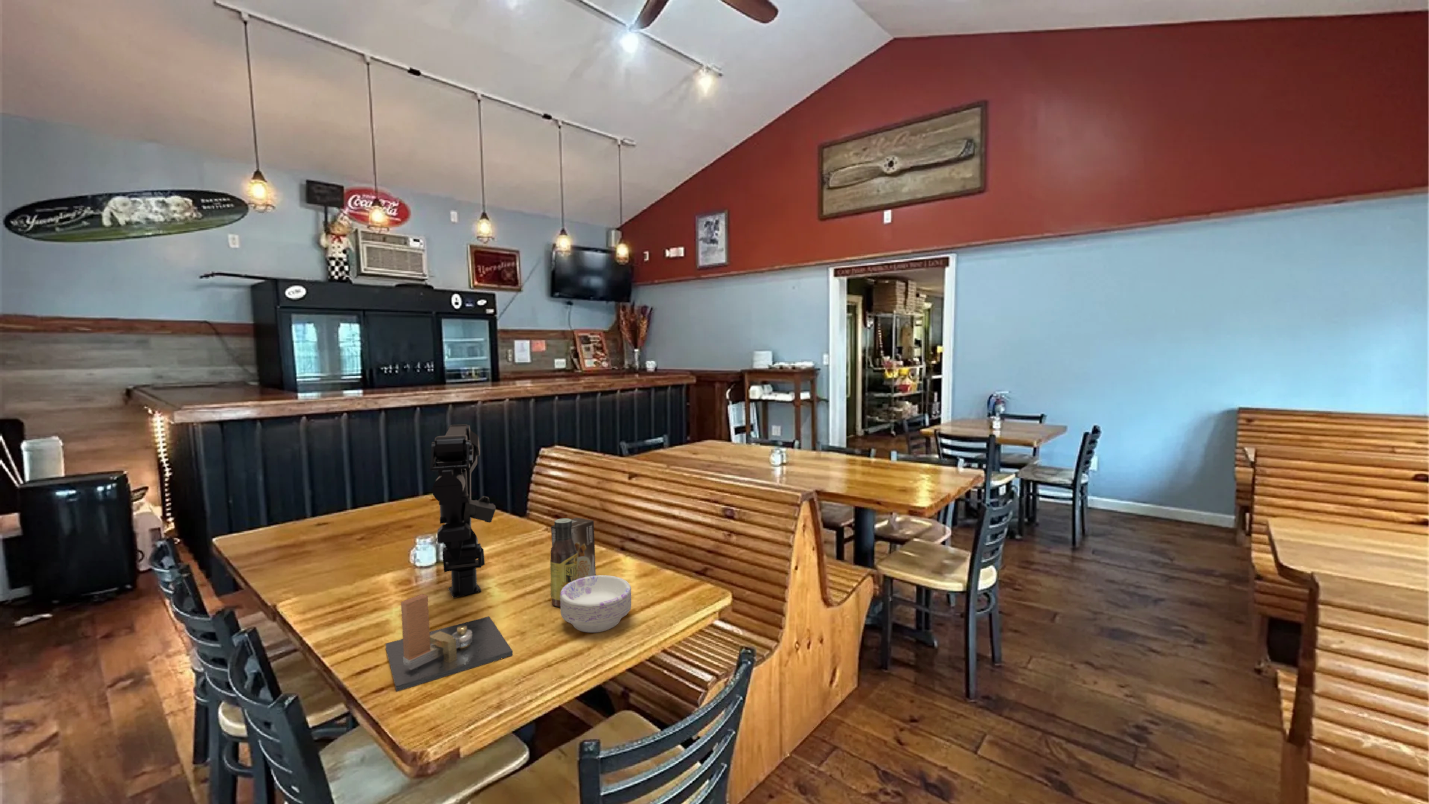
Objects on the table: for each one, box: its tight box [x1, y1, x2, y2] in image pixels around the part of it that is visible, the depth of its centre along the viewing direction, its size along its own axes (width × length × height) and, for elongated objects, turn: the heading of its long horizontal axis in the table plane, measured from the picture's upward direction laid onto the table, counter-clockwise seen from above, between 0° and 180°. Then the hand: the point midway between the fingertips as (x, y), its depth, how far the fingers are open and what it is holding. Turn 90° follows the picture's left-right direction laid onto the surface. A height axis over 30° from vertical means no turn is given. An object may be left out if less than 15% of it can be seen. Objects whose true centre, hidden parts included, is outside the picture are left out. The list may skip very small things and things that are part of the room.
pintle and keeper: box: [430, 625, 470, 663], centre depth 110 cm, size 7×8×5 cm
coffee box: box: [550, 517, 597, 579], centre depth 144 cm, size 9×6×16 cm
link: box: [400, 593, 472, 670], centre depth 108 cm, size 13×4×12 cm, turn 146°
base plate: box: [385, 616, 514, 692], centre depth 112 cm, size 18×20×1 cm
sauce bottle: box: [549, 517, 578, 608], centre depth 133 cm, size 6×6×20 cm
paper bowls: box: [559, 574, 632, 634], centre depth 124 cm, size 15×15×8 cm
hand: (456, 560), depth 126 cm, fingers closed
